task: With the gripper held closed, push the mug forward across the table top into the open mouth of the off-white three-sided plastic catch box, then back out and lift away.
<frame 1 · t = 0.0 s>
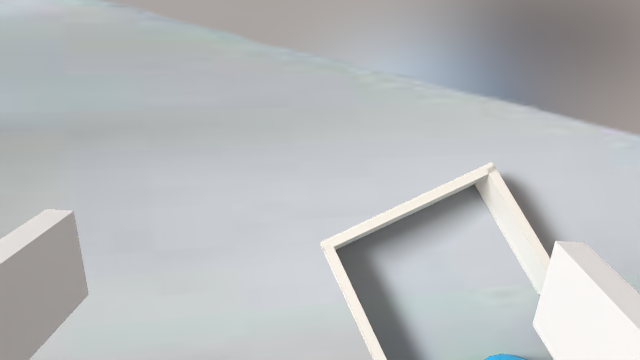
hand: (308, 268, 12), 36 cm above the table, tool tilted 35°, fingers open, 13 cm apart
catch box: (432, 270, 47), on the table
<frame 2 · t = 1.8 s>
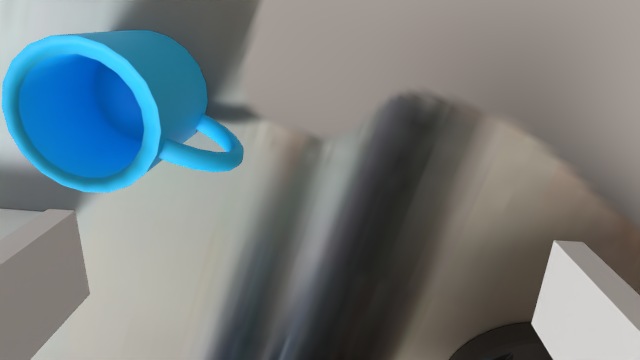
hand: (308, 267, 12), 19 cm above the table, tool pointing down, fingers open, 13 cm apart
mug: (176, 104, 30), on the table
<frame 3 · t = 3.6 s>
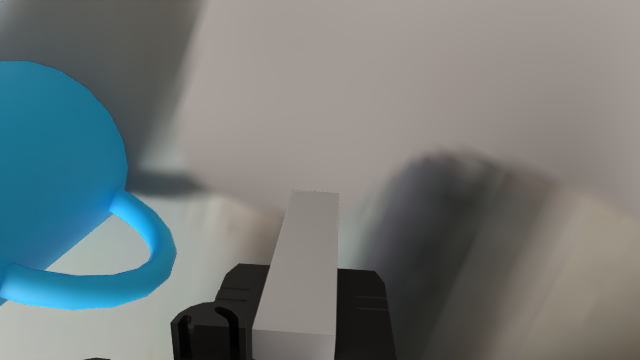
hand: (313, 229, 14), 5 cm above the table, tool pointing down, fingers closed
mug: (81, 171, 20), on the table
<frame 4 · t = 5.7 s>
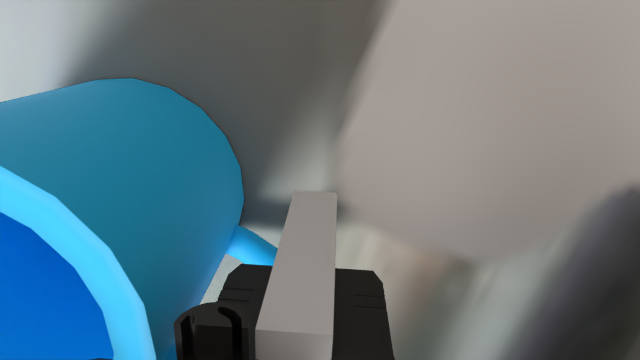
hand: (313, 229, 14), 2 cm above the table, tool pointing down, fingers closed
mug: (187, 204, 17), on the table, touching gripper
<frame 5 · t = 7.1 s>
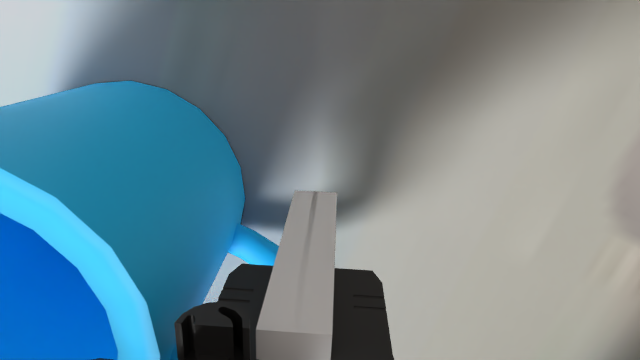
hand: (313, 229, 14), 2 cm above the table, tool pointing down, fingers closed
mug: (188, 205, 17), on the table, touching gripper
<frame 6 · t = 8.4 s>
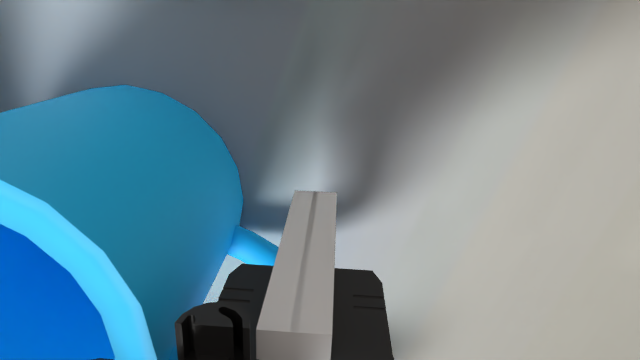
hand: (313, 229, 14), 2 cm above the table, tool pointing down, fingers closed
mug: (187, 208, 17), on the table, touching gripper
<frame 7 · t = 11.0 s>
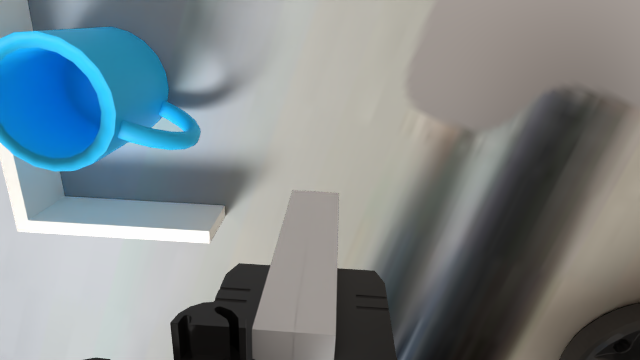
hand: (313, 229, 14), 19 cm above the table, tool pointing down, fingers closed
catch box: (128, 91, 32), on the table
mug: (140, 93, 33), on the table
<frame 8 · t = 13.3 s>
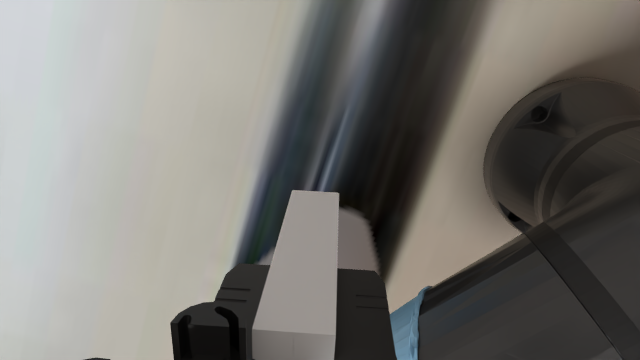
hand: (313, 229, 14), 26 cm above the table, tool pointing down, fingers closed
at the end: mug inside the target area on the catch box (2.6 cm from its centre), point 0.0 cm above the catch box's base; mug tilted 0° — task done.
